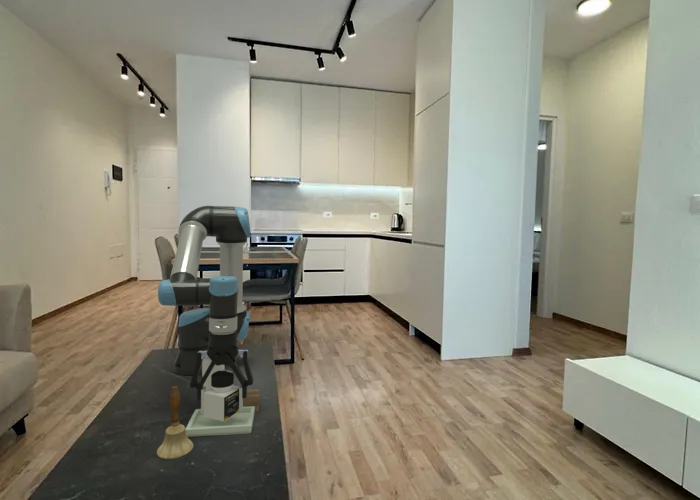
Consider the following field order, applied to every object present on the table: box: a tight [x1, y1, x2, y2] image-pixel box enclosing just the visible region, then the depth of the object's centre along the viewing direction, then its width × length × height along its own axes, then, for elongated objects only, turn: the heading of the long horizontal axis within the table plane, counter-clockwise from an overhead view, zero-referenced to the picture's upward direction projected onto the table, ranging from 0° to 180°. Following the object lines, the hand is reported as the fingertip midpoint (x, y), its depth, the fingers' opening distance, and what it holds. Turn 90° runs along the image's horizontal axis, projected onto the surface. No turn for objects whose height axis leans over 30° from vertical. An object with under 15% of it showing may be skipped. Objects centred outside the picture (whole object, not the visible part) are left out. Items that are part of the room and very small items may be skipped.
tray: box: [185, 406, 256, 438], centre depth 107 cm, size 12×17×2 cm
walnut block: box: [243, 388, 261, 413], centre depth 117 cm, size 5×5×5 cm
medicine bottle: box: [204, 369, 240, 421], centre depth 107 cm, size 7×7×12 cm
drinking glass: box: [201, 355, 226, 391], centre depth 120 cm, size 7×7×15 cm
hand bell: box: [156, 385, 194, 460], centre depth 94 cm, size 8×8×16 cm
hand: (222, 410), depth 107 cm, fingers closed on medicine bottle, 9 cm apart
